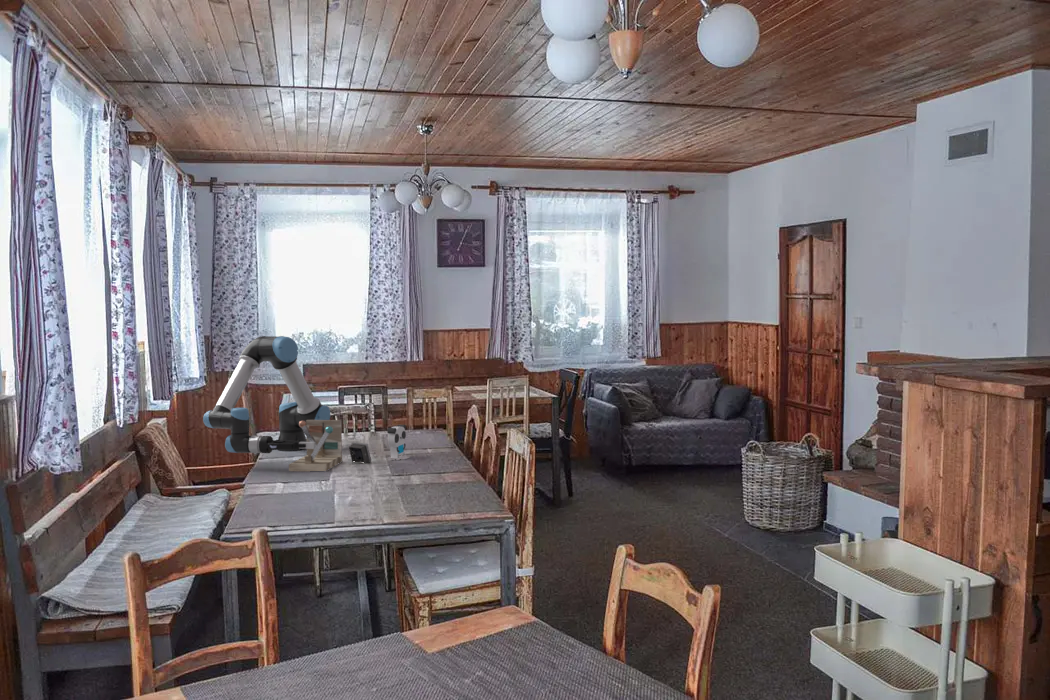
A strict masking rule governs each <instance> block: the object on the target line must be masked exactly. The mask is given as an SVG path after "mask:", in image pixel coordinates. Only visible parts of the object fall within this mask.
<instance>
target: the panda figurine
mask: <svg viewBox="0 0 1050 700" xmlns="http://www.w3.org/2000/svg"><path fill="white" fill-rule="evenodd" d="M406 428H407V427H406V424H397V425H396V426H395V425H394V426H391V427H388V428H387V431H386V432H387V444H388V447H389V450H390V451H389V452H390V456H391V458H399V455H401V456H402V455H404V456H405V449H406V443H405V442H406V439H407V438H406V437H407V433H406Z"/></svg>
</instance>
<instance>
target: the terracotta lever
mask: <svg viewBox="0 0 1050 700" xmlns="http://www.w3.org/2000/svg"><path fill="white" fill-rule="evenodd" d="M299 426H300V427H301V428H302V430H303V431H304V434H305V437H306V436H307V437H306V439H307V438H308V440H309V442H315V448H316V446H317V443H316V441H315V439H314V437H313V436H312V434H311V432H310V431H309V429H308V427H307V425H306V422H305V421H300V422H299ZM315 448H314V449H315ZM320 451H321V449H320Z"/></svg>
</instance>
